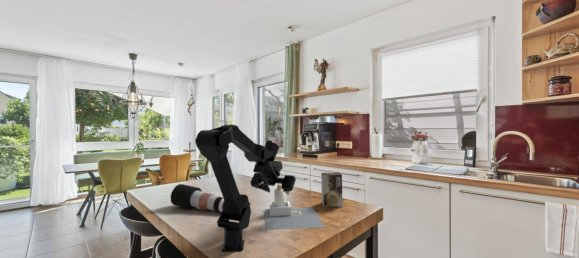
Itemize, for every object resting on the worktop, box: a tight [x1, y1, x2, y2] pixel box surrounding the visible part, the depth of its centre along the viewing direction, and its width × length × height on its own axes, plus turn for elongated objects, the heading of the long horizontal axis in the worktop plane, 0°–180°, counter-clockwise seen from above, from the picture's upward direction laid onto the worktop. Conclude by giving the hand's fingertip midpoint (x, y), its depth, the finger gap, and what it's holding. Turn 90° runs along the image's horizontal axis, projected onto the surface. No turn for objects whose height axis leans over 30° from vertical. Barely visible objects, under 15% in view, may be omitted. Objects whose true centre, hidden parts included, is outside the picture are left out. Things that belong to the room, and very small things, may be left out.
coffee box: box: [320, 172, 343, 209], centre depth 123 cm, size 9×6×16 cm
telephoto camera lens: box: [170, 183, 224, 213], centre depth 118 cm, size 10×34×10 cm, turn 68°
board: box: [264, 200, 326, 230], centre depth 105 cm, size 24×22×5 cm
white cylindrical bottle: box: [273, 183, 286, 207], centre depth 111 cm, size 5×5×12 cm
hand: (279, 192), depth 110 cm, fingers open, 9 cm apart
